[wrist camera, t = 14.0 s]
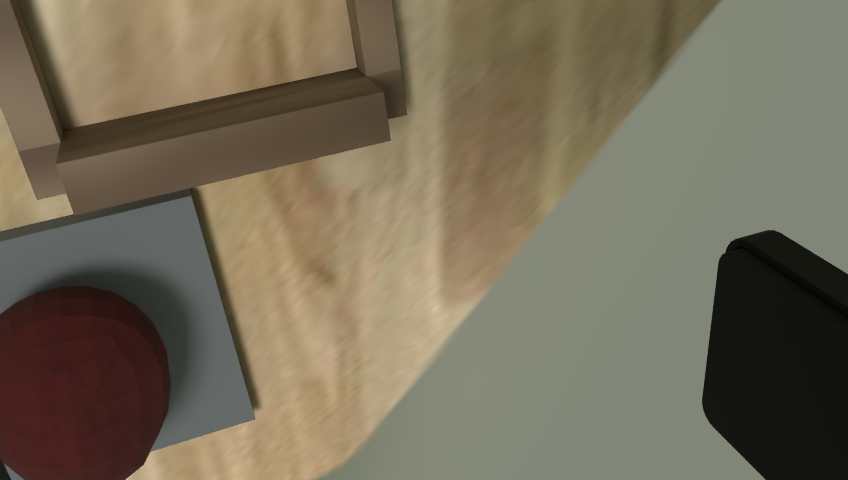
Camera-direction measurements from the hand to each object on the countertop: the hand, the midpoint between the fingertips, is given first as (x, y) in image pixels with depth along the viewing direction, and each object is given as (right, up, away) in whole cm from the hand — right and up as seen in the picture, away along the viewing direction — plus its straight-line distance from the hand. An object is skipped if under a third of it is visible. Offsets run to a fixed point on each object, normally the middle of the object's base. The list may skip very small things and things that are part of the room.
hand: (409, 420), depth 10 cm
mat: (-15, -2, +25) cm, 29 cm away
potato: (-15, -2, +24) cm, 28 cm away
